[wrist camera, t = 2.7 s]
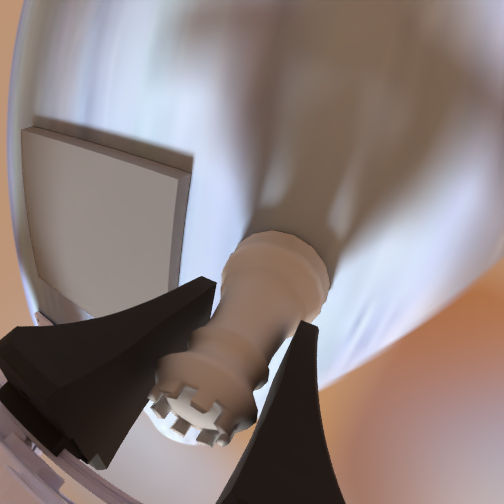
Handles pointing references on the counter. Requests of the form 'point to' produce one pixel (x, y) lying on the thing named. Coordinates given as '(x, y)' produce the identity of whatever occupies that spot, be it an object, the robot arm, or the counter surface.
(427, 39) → the counter surface
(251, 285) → the rook chess piece
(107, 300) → the mat
